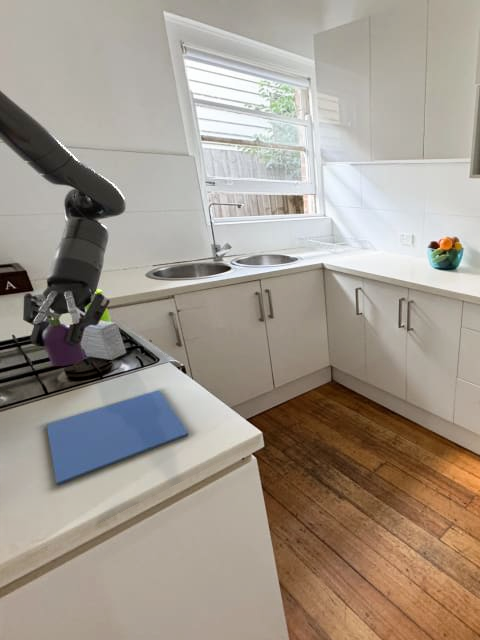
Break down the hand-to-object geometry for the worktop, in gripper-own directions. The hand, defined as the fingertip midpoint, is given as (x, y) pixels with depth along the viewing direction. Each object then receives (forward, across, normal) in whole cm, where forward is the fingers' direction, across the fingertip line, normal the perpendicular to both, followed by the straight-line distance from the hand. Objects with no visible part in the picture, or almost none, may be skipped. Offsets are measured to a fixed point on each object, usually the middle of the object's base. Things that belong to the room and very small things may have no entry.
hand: (54, 344), depth 71 cm
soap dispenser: (-16, -16, +35) cm, 42 cm away
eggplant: (+2, 0, +4) cm, 5 cm away
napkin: (+16, +12, +3) cm, 20 cm away
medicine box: (-7, -8, +26) cm, 29 cm away
